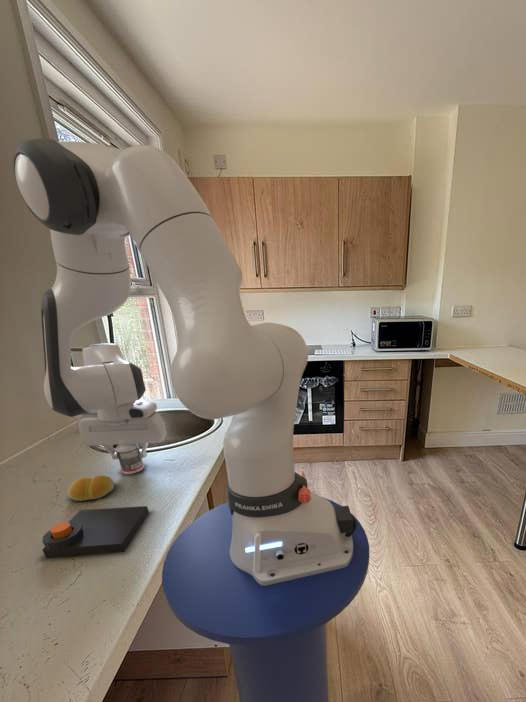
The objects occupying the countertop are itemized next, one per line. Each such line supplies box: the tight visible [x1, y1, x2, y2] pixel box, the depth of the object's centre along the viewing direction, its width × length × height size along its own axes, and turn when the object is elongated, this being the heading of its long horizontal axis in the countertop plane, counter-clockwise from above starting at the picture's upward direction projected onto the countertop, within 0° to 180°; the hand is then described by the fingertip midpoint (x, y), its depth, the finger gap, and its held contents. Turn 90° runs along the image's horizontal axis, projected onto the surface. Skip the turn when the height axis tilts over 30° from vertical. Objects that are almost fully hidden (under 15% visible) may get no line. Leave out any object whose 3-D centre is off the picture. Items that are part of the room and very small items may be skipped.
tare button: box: [49, 521, 72, 539], centre depth 65 cm, size 3×3×2 cm
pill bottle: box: [115, 440, 145, 475], centre depth 92 cm, size 5×5×10 cm
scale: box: [42, 505, 150, 558], centre depth 69 cm, size 14×12×4 cm
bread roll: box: [67, 475, 115, 502], centre depth 83 cm, size 8×9×4 cm
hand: (130, 457), depth 93 cm, fingers closed on pill bottle, 5 cm apart
